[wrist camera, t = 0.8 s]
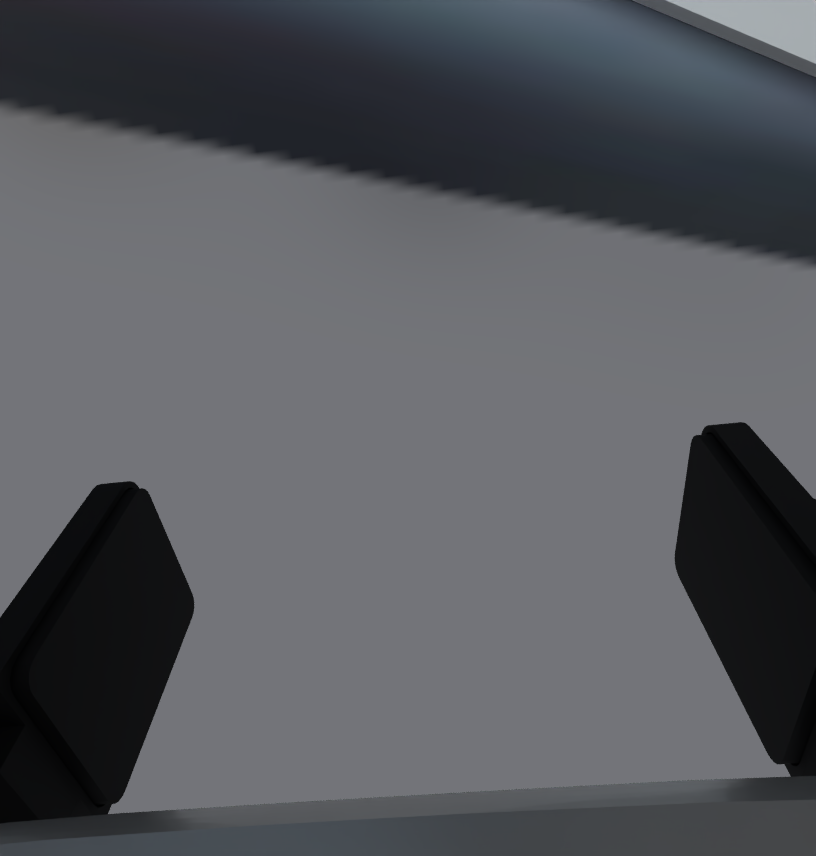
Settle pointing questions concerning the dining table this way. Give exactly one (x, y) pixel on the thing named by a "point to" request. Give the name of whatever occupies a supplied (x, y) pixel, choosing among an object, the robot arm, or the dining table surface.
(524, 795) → the robot arm
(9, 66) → the dining table surface
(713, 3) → the panel
